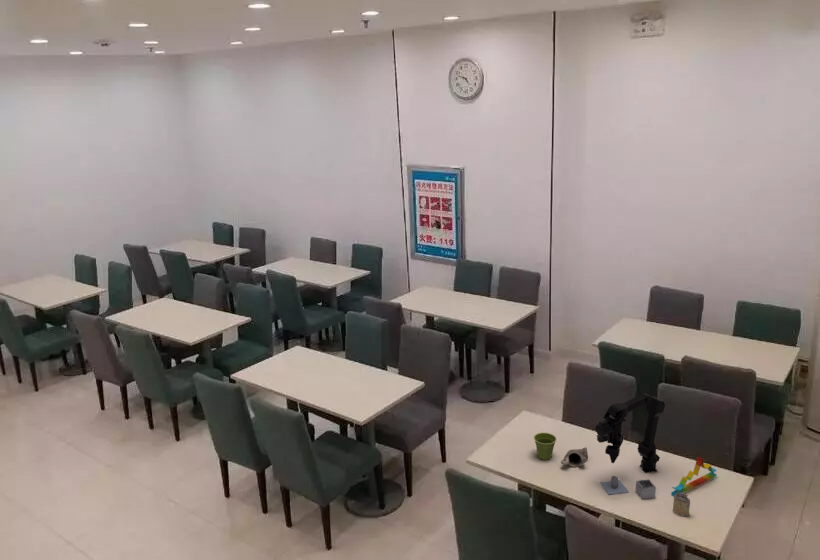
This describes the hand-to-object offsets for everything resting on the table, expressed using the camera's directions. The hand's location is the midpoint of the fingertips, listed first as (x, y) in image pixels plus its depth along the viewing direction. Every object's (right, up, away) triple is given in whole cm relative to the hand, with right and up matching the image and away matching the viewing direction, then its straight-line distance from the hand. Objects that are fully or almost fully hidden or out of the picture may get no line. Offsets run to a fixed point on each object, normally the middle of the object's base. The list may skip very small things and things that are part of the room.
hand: (614, 458), depth 319 cm
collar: (+13, -16, -7) cm, 21 cm away
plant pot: (-29, -7, +27) cm, 40 cm away
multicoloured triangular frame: (+39, -14, -2) cm, 41 cm away
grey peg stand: (0, -14, -1) cm, 14 cm away
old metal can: (+24, -20, -21) cm, 37 cm away
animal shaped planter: (-14, -8, +21) cm, 26 cm away
